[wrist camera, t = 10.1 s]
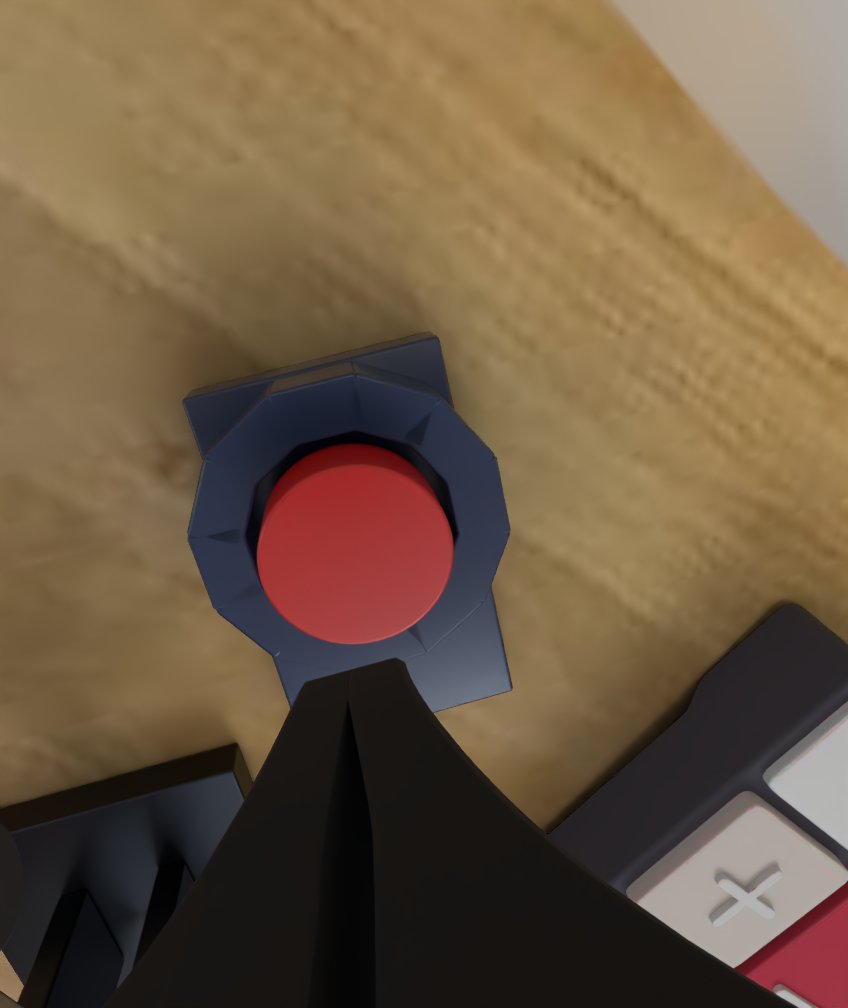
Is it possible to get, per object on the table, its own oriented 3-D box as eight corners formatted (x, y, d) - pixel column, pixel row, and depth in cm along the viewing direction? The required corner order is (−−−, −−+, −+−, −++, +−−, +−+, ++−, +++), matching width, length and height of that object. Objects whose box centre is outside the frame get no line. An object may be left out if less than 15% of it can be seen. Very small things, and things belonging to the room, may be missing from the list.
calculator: (477, 1027, 20) (894, 680, 17) (455, 895, 24) (790, 594, 21) (710, 1140, 24) (1090, 870, 21) (657, 1009, 28) (970, 766, 25)
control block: (171, 394, 17) (142, 422, 14) (448, 325, 17) (474, 339, 14) (290, 727, 20) (285, 802, 18) (517, 663, 21) (549, 727, 18)
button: (238, 468, 15) (229, 494, 13) (419, 422, 15) (431, 442, 14) (292, 626, 16) (289, 667, 15) (456, 582, 17) (471, 617, 15)
